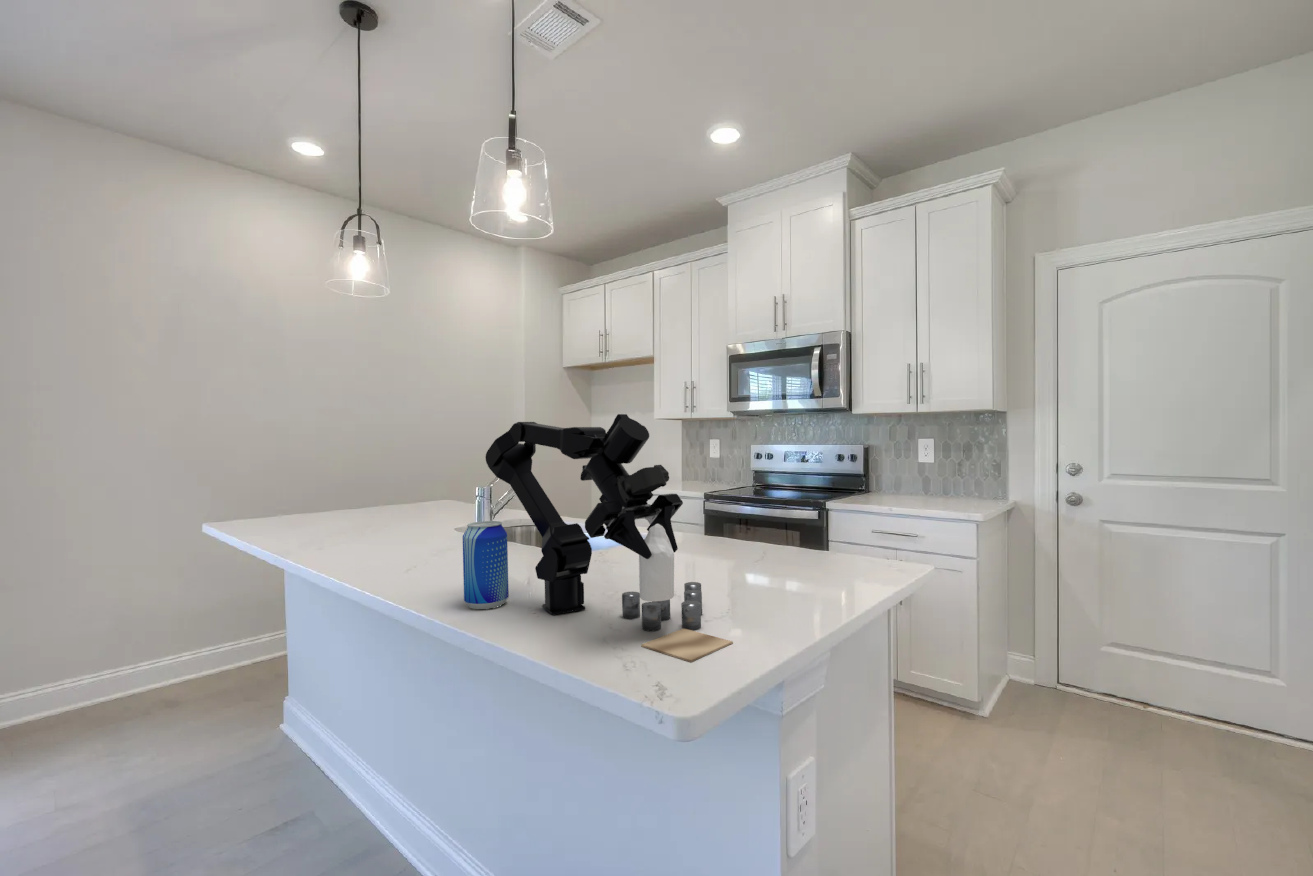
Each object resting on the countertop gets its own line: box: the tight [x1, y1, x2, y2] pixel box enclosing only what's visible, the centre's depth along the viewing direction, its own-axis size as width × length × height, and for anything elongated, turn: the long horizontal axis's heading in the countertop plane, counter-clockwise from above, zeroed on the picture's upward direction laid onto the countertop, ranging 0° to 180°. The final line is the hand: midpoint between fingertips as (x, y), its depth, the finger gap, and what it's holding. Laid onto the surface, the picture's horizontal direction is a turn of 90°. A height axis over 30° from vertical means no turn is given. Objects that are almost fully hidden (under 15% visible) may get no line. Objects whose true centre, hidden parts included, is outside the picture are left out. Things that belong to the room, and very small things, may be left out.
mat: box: [640, 628, 734, 663], centre depth 91 cm, size 10×10×1 cm
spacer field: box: [621, 581, 703, 632], centre depth 105 cm, size 16×14×4 cm
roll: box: [638, 524, 675, 602], centre depth 96 cm, size 6×12×6 cm
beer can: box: [462, 520, 509, 610], centre depth 116 cm, size 8×8×16 cm
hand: (663, 554), depth 95 cm, fingers closed on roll, 6 cm apart
